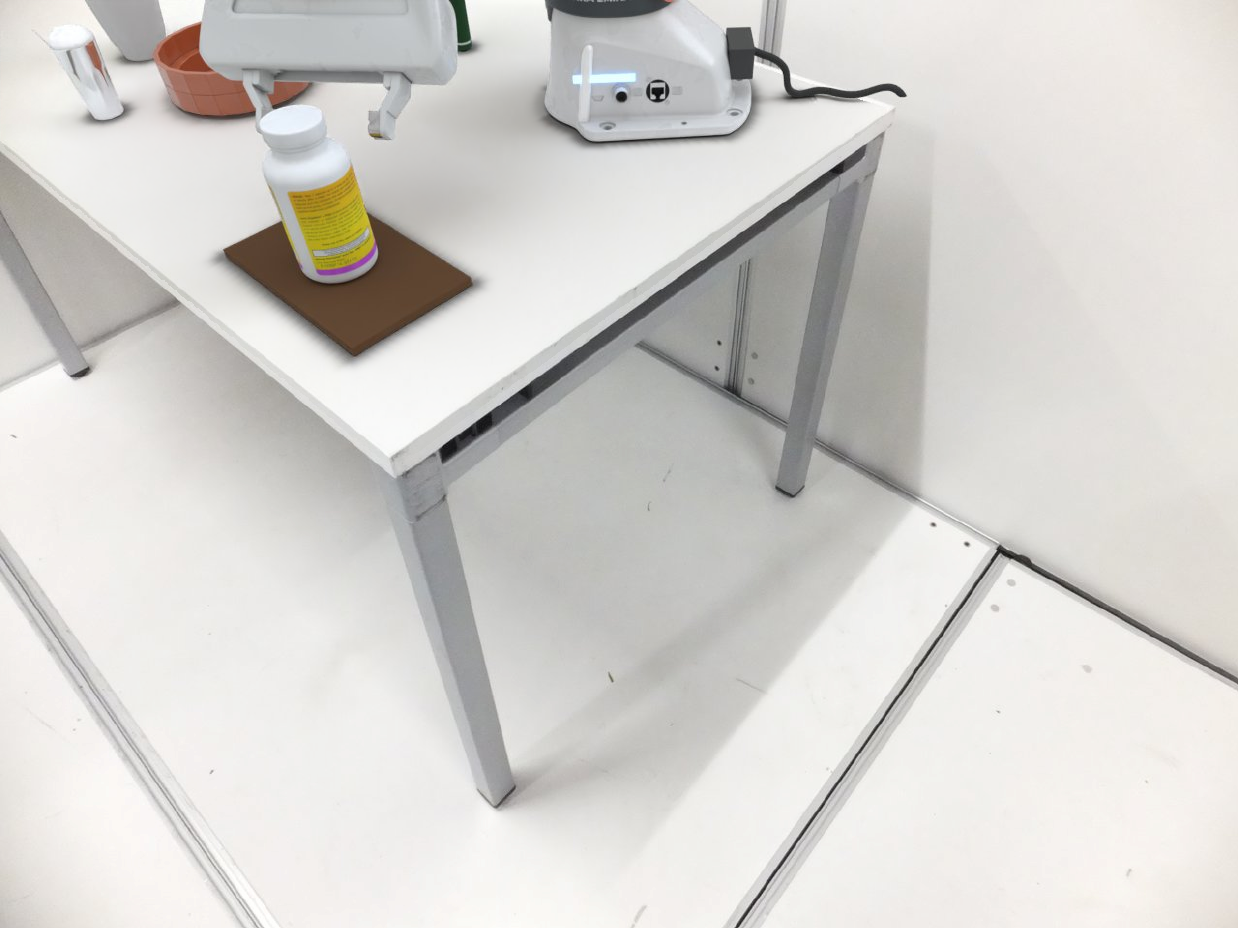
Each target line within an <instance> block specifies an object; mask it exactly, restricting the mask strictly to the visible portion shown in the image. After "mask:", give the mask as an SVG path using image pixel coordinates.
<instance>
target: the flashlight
mask: <svg viewBox="0 0 1238 928" xmlns="http://www.w3.org/2000/svg"><path fill="white" fill-rule="evenodd" d="M449 1H450V3H451V4H452V6H453V9H454V12H455V18H456V27H457V46H458V52H459V51H460V52H466V51H468V50H471V49H472V46H473V40H472V35H471V34H472V33H471V29H470V23H469V16H468V10H467V4H466V0H449Z"/></svg>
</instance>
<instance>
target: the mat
mask: <svg viewBox="0 0 1238 928" xmlns="http://www.w3.org/2000/svg"><path fill="white" fill-rule="evenodd" d="M367 215H368V219H369V222H370V225H371V228H372V232H373V235H374V238H375V241H376V245H377V249H378V257H377V260H376V262H375V264H374V265H373V266H372V268H371V269H370V270H369V271H367V272H366V273H364V274H363V275H361V276H359V277H357V278H355V279H353V280H350V281H346V282H342V283H322V282H318V281H315V280H312V279H310V278H309V277H307V276H306V275H305V274H304V273H303V272H302V270H301V268H300V266H299V263H298V261H297V259H296V256H295V253H294V251H293V248H292V246H291V243H290V241H289V238H288V236H287V233H286V230H285V228H284V225H283V223H282V220H280V221H277V222H276V223H273V224H272V225H269V226H268V227H266V228H264V229H261V230H260V231H258V232H255V233H254V234H252V235H251V234H250V235H249V236H248V237H245V238H244V239H243V238H242V239H241V240H239V241H237V242H235V243H233V244H230V245H229V246H227V247H225V248H223V249H222V251H223V253H224V256H225V257H226V258H227V259H229V261H231V262H232V263H234V264H235V265H236V266H237V267H239V268H240V269H241V270H242V271H244V272H245V273H246V274H247V275H249V276H250V277H251V278H253V279H254V280H255V281H257V282H258V283H259V284H260V285H262V286H263V287H265V289H267V290H268V291H270V292H271V293H272V294H274V295H275V297H277V298H279V299H280V300H281V301H282V302H284V303H285V304H287V306H288V307H290V308H291V309H293V310H294V311H295V312H297V314H299V315H301V316H302V317H303V318H304V319H305V320H307V321H309V322H310V323H311V324H312V325H314V326H315V327H316V328H317V329H319V330H320V331H321V332H322V333H324V334H325V335H326V336H328V338H330V339H331V340H333V341H334V342H336V344H338V345H339V346H340V347H341V348H343V349H344V350H346V351H347V352H348V353H349V354H351V355H352V356H354V357H356V356H357V355H358V354H360V353H362V352H364V351H366V350H368V349H369V348H370V347H372V346H374V345H376V344H377V343H379V342H380V341H382V340H383V339H385V338H387V337H388V336H391V335H392V334H394V333H395V332H397V331H399V330H400V329H402V328H404V327H405V326H407V325H409V324H411V323H412V322H413V321H415V320H417V319H418V318H420V317H421V316H423V315H425V314H427V313H428V312H430V311H432V310H433V309H435V308H437V307H438V306H440V305H442V304H444V303H445V302H446V301H448V300H450V299H452V298H453V297H455V296H456V295H458V294H460V293H461V292H463V291H465V290H466V289H468V288H470V287H471V286H473V281H472V277H471V276H470V275H468V274H467V273H465V272H464V271H462V270H460V269H459V268H456V267H455V266H453V265H452V264H450V263H449V262H447V261H446V260H444V259H442V258H441V257H439V256H438V255H436V254H434V253H432V252H431V251H430V250H428V249H426V248H424V247H423V246H422V245H420V244H419V243H417V242H415V241H414V240H412V239H410V238H409V237H407V236H406V235H404V234H402V233H401V232H399V231H397V229H394V228H393V227H391V226H390V225H388V224H386V223H385V222H383V221H382V220H380V219H379V218H377V217H375V216H374V215H372V214H371V213H369V212H367Z"/></svg>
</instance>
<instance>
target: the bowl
mask: <svg viewBox="0 0 1238 928" xmlns="http://www.w3.org/2000/svg"><path fill="white" fill-rule="evenodd" d="M201 24H202V20H201V21H198V22H194V23H192V24H189V25H186V26H183V27H181V28H180V29H178V30H175V31H174V32H172V33H170V34H168V35H166V38H165V39H163V40H162V41H161V42H160V43H159V44H157V46H156V48H155V50H154V52H153V58H154V59H153V61H154V64H155V66H156V68H157V70H158V73H159V75H160V77H161V79H162V82H163V84H164V86H165V89H166V90H167V92H168V95H169V97H170V100H171V101H172V104H174V105H175V106H176V107H178V108H180V109H181V110H183V111H184V112H189V113H192V114H197V115H200V116H201V115H202V116H231V115H241V114H247V113H252V112H256V108H255V107H254V106H253V104H252V102H251V100H250V98H249V96H248V94H247V92H246V90H245V88H244V86H243V81H235V80H230V79H227V78H226V77H224V76H222V75H220V74H219V73H217V72H216V71H214V70H213V69H211V68H210V67H209V66H208V65H207V64H206V62H205V61H204V59H203V58H202V56H201V54H200V50H199V43H200V32H201ZM310 83H311V82H281V81H274V93H273V94H267V96H268V99H269V101H270V103H271V105H272V107H273V106H276V105H278V104H280V103H284V102H285V101H288V100H290V99H291V98H293V97H294V96H296V95H298V94H299V93H301V92H302V91H304V90H305V89H306V88H307V87H308V86H309V84H310Z"/></svg>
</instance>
